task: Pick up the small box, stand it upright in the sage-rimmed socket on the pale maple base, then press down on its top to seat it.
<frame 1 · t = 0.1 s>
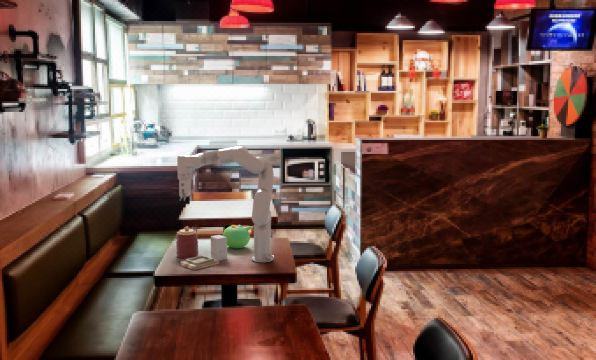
hand: (185, 205, 371), 31 cm above the table, tool pointing down, fingers open, 9 cm apart
maple base: (199, 264, 363), on the table
green rounded piece: (237, 247, 399), on the table
small box: (219, 258, 375), on the table
canister: (187, 256, 380), on the table
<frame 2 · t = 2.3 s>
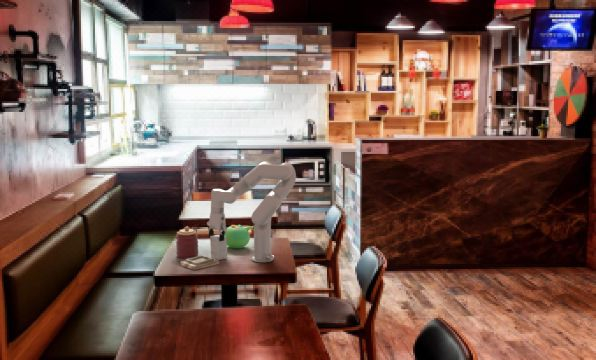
hand: (216, 239, 373), 12 cm above the table, tool pointing down, fingers open, 9 cm apart
nothing on the table moved.
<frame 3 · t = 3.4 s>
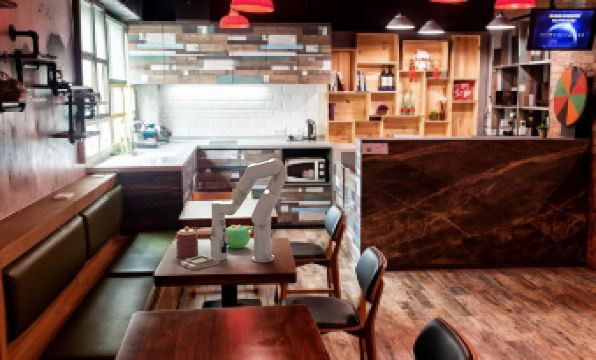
hand: (218, 251, 374), 4 cm above the table, tool pointing down, fingers open, 9 cm apart
small box: (219, 258, 375), on the table, touching gripper
everything else where it was.
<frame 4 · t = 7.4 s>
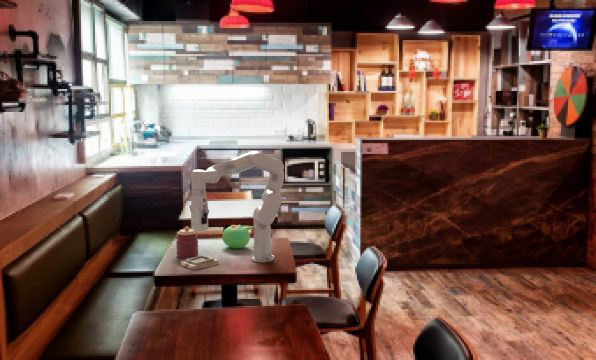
hand: (199, 222, 359), 24 cm above the table, tool pointing down, fingers closed on small box, 8 cm apart
small box: (199, 230, 360), point 20 cm above the table, touching gripper
everything else where it was.
when the fingers open (8 cm above the table, at t = 11.2 s): small box stays where it is, resting on maple base.
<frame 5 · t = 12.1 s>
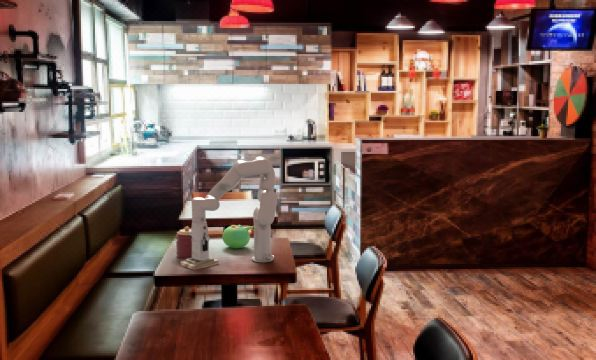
hand: (199, 249, 361), 9 cm above the table, tool pointing down, fingers open, 9 cm apart
small box: (200, 259, 362), point 3 cm above the table, touching gripper, maple base
everything else where it was.
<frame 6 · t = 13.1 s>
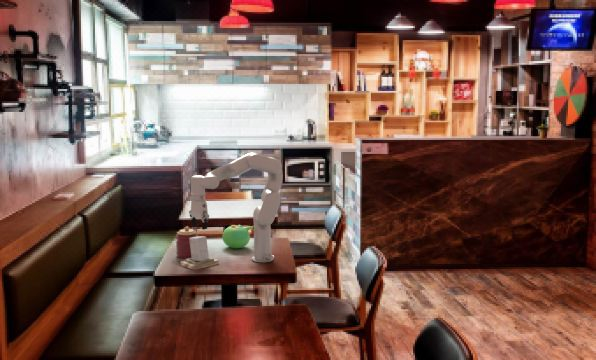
hand: (199, 227, 359), 21 cm above the table, tool pointing down, fingers open, 9 cm apart
small box: (200, 260, 362), point 2 cm above the table, touching maple base
everything else where it was.
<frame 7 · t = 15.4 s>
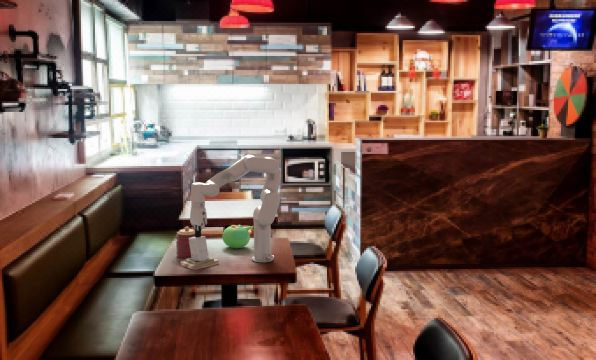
hand: (197, 236, 360), 16 cm above the table, tool pointing down, fingers closed
small box: (200, 260, 362), point 3 cm above the table, touching gripper, maple base
everything else where it was.
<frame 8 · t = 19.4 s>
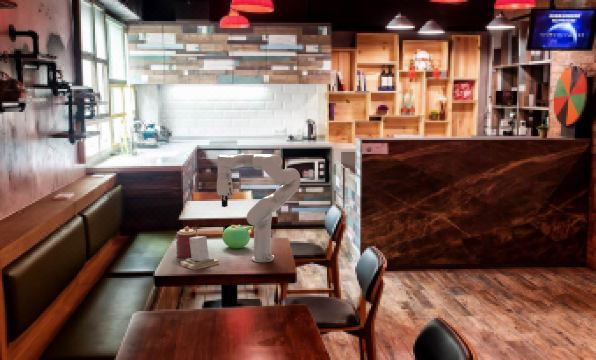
hand: (224, 206, 379), 29 cm above the table, tool pointing down, fingers closed
small box: (200, 260, 362), point 2 cm above the table, touching maple base
everything else where it was.
at the end: small box 0.5 cm off-centre on the maple base, point 2.4 cm above the maple base's base; small box tilted 9°; the gripper is holding nothing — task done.
